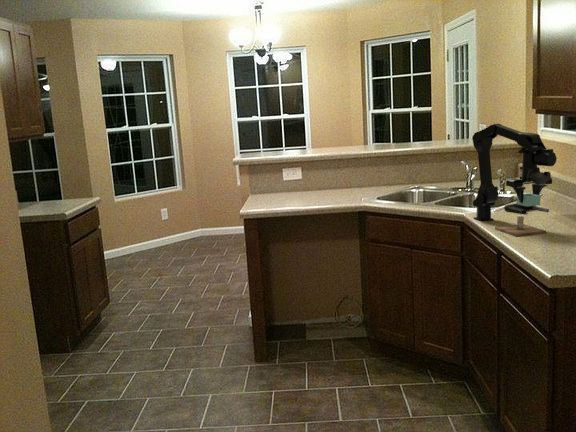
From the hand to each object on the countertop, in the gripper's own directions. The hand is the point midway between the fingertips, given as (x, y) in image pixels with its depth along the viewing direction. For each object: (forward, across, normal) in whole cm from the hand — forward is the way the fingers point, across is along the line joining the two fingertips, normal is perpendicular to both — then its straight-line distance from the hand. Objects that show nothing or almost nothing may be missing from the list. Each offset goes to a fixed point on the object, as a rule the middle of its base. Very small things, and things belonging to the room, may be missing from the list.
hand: (528, 202), depth 244 cm
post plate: (+11, -6, -3) cm, 13 cm away
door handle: (+12, +26, +31) cm, 42 cm away
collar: (+1, 0, 0) cm, 1 cm away
